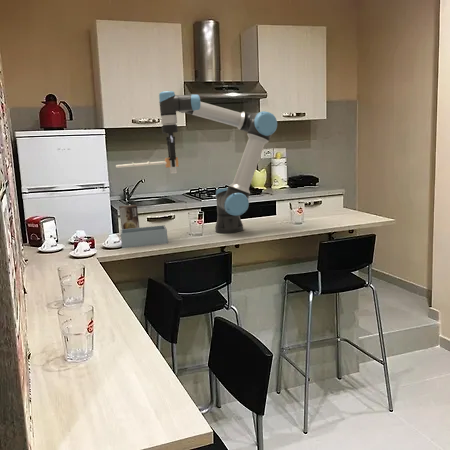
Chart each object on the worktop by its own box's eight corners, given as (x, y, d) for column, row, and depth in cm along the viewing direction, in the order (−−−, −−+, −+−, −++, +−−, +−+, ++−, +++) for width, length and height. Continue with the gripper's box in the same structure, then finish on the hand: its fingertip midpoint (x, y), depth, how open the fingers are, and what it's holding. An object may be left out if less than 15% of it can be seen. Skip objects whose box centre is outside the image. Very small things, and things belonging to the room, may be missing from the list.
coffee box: (137, 232, 292) (135, 204, 289) (140, 234, 286) (137, 205, 283) (121, 234, 289) (118, 206, 286) (123, 236, 283) (120, 207, 280)
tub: (166, 240, 264) (164, 225, 263) (168, 245, 253) (166, 229, 251) (122, 245, 260) (120, 229, 259) (122, 250, 249) (120, 233, 247)
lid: (176, 165, 260) (176, 156, 259) (179, 167, 247) (178, 157, 247) (116, 170, 254) (115, 161, 254) (116, 172, 242) (115, 162, 241)
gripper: (160, 125, 257) (164, 172, 261) (162, 124, 241) (167, 175, 245) (175, 124, 258) (179, 171, 262) (179, 123, 242) (183, 173, 246)
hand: (173, 173), depth 254 cm, fingers closed on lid, 3 cm apart
